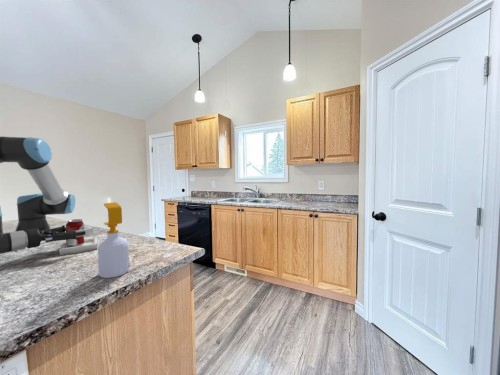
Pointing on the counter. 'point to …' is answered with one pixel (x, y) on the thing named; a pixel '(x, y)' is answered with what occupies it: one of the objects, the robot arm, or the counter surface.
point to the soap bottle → (113, 246)
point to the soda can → (72, 227)
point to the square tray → (79, 247)
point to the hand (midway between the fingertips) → (87, 228)
